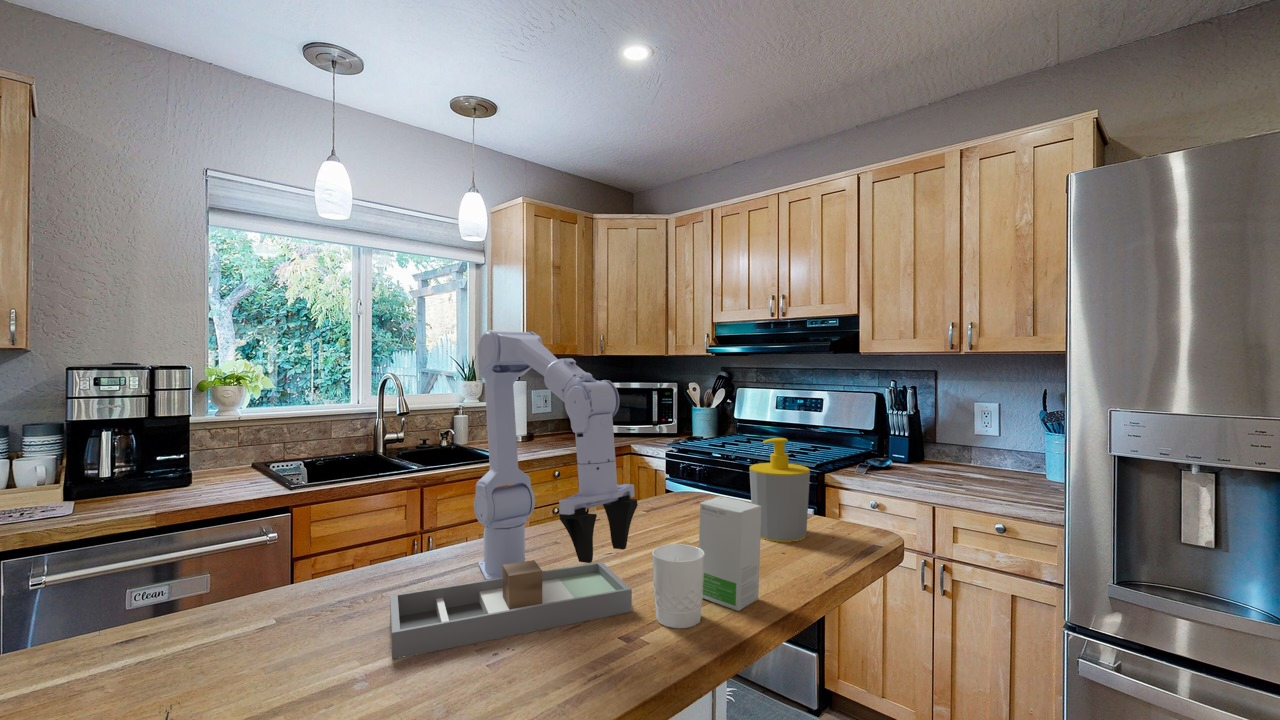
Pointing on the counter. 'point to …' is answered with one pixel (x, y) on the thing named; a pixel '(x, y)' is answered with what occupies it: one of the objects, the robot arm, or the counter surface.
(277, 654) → the counter surface
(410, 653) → the box
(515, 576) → the walnut block
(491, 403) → the robot arm
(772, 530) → the soap bottle
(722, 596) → the skincare box
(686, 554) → the white cup
